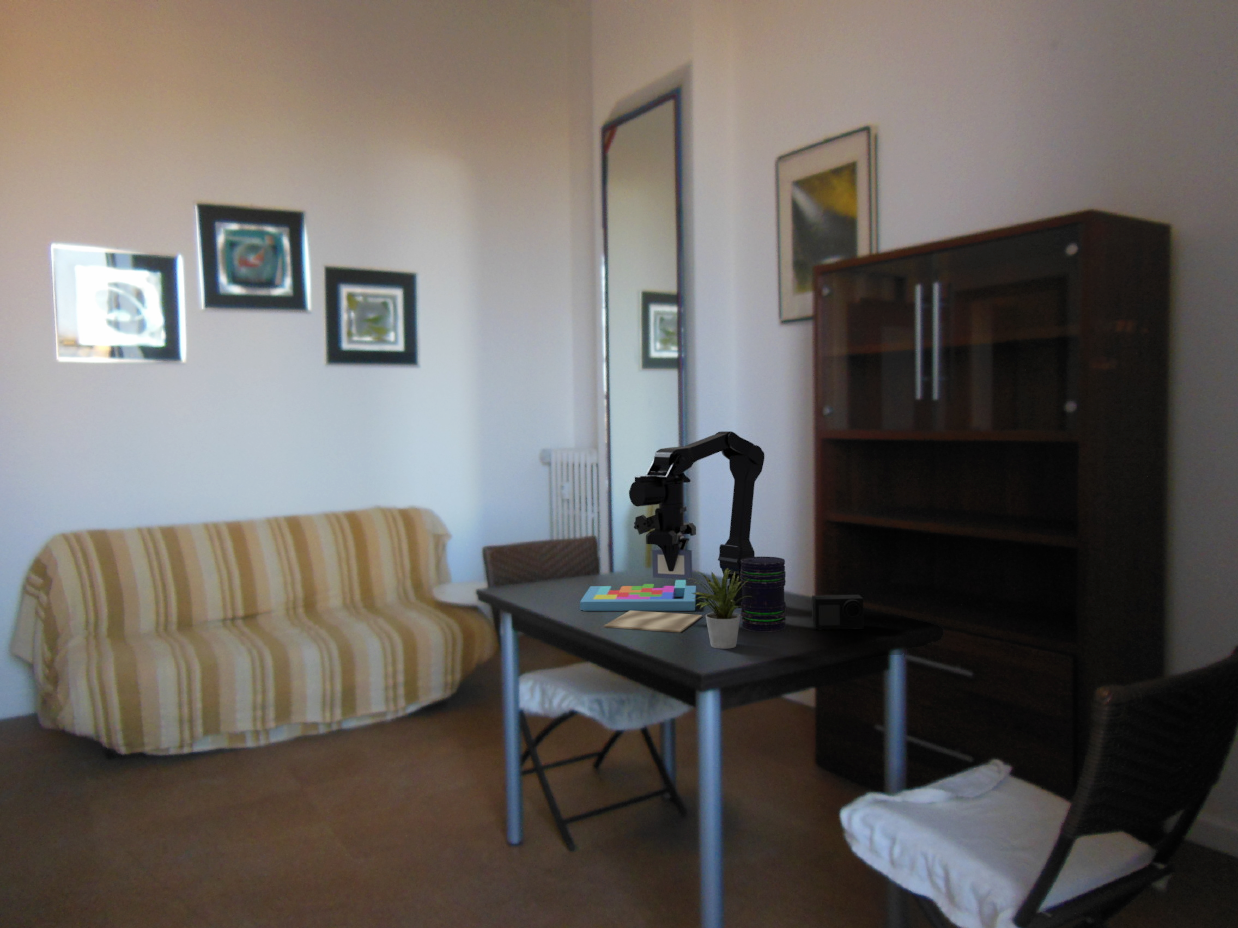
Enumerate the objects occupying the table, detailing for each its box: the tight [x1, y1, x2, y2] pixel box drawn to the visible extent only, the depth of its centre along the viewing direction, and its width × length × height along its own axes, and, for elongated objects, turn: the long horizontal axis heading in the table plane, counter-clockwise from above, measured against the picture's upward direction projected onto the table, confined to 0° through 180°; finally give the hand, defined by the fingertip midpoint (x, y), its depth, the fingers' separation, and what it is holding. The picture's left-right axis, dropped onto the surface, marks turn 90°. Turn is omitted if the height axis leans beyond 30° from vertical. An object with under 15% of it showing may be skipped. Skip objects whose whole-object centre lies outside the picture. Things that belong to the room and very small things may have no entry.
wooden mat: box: [603, 610, 703, 633], centre depth 206 cm, size 18×16×1 cm
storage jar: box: [740, 556, 787, 633], centre depth 198 cm, size 10×10×15 cm
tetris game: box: [579, 579, 697, 612], centre depth 232 cm, size 28×3×28 cm
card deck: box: [651, 548, 693, 580], centre depth 206 cm, size 9×2×6 cm, turn 68°
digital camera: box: [811, 594, 865, 630], centre depth 195 cm, size 10×5×7 cm, turn 88°
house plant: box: [685, 568, 752, 650], centre depth 184 cm, size 14×14×16 cm
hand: (672, 570), depth 207 cm, fingers closed on card deck, 2 cm apart
